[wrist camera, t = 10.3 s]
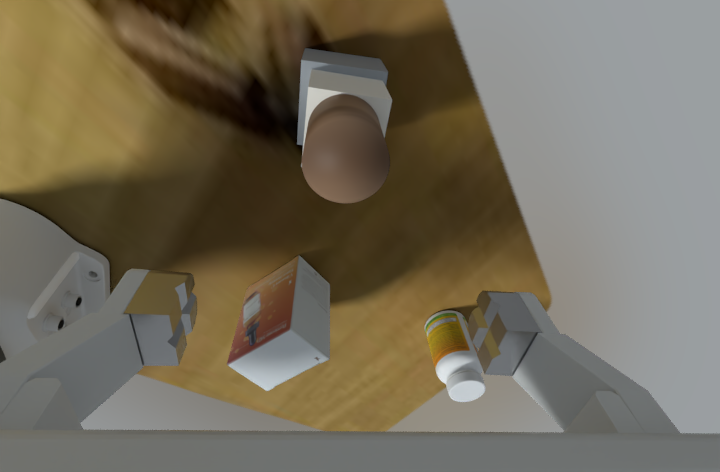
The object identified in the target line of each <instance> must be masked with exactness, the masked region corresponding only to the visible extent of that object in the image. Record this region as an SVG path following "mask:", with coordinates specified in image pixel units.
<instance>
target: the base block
mask: <svg viewBox="0 0 720 472" xmlns="http://www.w3.org/2000/svg"><path fill="white" fill-rule="evenodd" d="M311 69H315V70H321V71H327V72H333V73H339V74H345V75H351V76H358V77H364V78H370V79H376V80H382V81H383V82H384V84H385V86H386V82H387V76H388V71H387V69H386V67H385V66H384V64H383V62H382V61H381V59H378V58H371V57H364V56H357V55H350V54H343V53H336V52H329V51H323V50H316V49H309V48H305V50H304V53H303V56H302V59H301V76H300V96H299V115H298V134H297V145H303V141H304V129H305V118H306V106H307V95H308V85H309V80H310V74H311Z"/></svg>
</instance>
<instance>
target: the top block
mask: <svg viewBox="0 0 720 472" xmlns="http://www.w3.org/2000/svg"><path fill="white" fill-rule="evenodd" d="M338 94H349V95H354V96H357V97H359V98H361V99H363V100H365V101H366V102H367V103H368V104H369V105H370V106H371V107H372V108H373V109H374V111H375V112H376V114H377V116H378V119H379V122H380V126H381V129H382V132H383V135H384V138H385V133H386V128H387V123H388V119H389V114H390V109H391V104H392V98H391V96H390V94H389V92H388V90H387V88H386V86H385V84H384V82H383V81H382V80H376V79H370V78H364V77H358V76H351V75H345V74H339V73H333V72H327V71H321V70H315V69H311V74H310V80H309V85H308V95H307V106H306V118H305V129H304V141H303V149H304V143H305V138H306V132H307V127H308V121H309V118H310V116H311V113H312V112H313V110H314V109H315V107H316V106H317V105H318V104H319V103H320V102H322V101H323V100H324V99H326V98H328V97H331V96H334V95H338ZM302 154H303V152H302ZM301 167H302V164H301Z"/></svg>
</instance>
